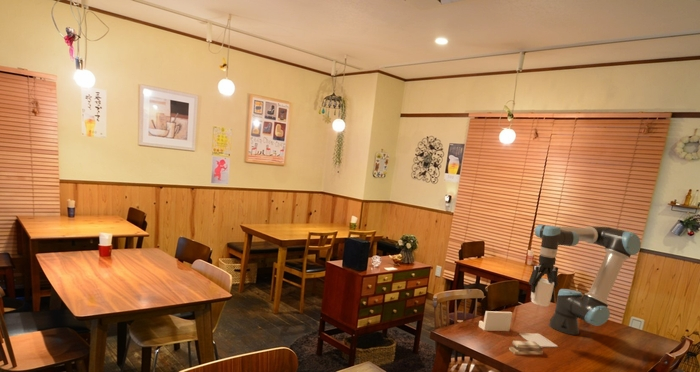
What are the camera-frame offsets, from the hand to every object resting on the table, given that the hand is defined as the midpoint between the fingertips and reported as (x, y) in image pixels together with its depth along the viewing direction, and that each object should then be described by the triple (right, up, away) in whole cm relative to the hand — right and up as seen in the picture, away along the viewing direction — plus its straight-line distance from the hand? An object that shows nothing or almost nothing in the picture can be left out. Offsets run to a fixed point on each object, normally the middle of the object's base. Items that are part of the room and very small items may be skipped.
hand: (540, 298), depth 189 cm
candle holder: (0, -3, 0) cm, 3 cm away
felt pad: (0, -23, +2) cm, 23 cm away
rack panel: (-20, -19, +10) cm, 30 cm away
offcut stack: (-14, -22, -13) cm, 29 cm away
